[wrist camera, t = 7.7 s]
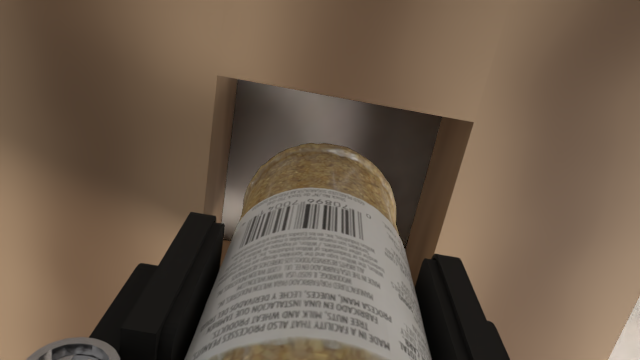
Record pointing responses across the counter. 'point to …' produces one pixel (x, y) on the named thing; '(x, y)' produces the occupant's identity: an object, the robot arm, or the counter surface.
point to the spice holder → (343, 82)
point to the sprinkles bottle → (314, 268)
